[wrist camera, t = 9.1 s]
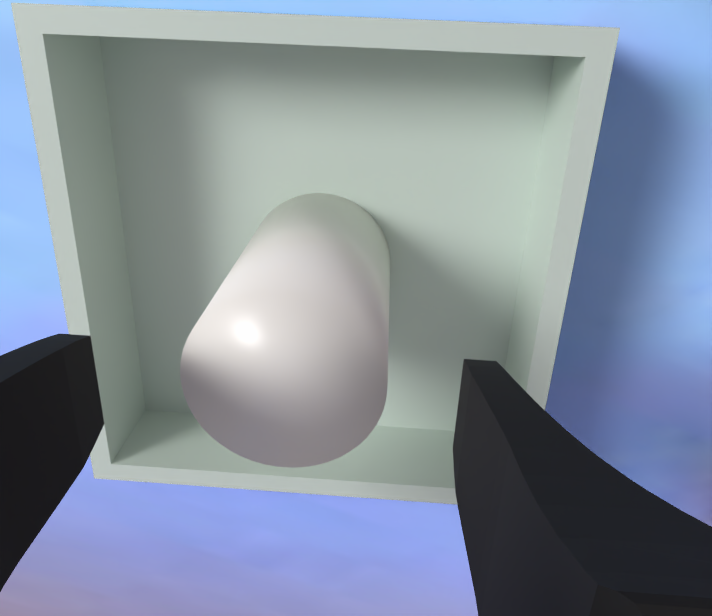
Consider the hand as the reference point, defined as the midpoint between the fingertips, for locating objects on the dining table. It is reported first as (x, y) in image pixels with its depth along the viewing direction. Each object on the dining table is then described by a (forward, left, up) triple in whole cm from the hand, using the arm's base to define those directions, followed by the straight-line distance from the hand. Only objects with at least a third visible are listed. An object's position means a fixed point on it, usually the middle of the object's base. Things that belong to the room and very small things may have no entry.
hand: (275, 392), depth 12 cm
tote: (0, 0, -8) cm, 8 cm away
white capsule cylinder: (0, 0, -8) cm, 8 cm away
